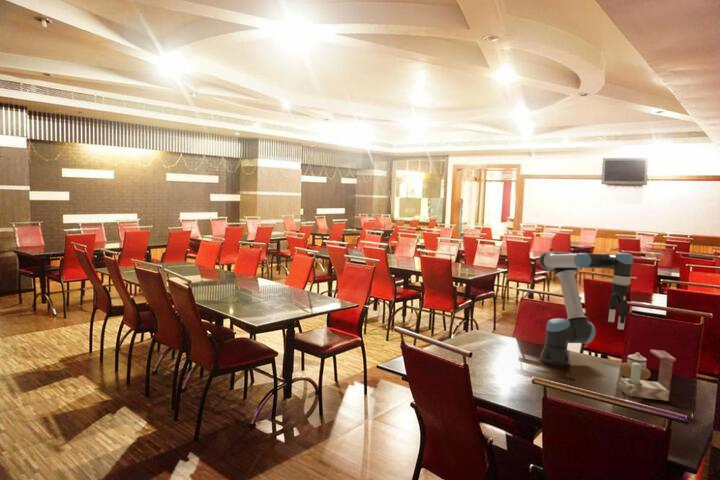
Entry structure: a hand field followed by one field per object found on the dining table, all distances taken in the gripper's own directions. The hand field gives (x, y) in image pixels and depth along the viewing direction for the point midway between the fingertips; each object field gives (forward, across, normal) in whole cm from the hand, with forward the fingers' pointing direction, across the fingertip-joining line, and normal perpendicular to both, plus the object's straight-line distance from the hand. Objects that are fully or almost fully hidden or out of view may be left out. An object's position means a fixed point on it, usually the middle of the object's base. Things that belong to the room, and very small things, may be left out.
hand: (615, 325), depth 239 cm
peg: (+28, -16, -6) cm, 32 cm away
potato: (+28, +3, -13) cm, 31 cm away
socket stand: (+28, -16, -10) cm, 34 cm away
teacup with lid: (+28, +14, -18) cm, 36 cm away
